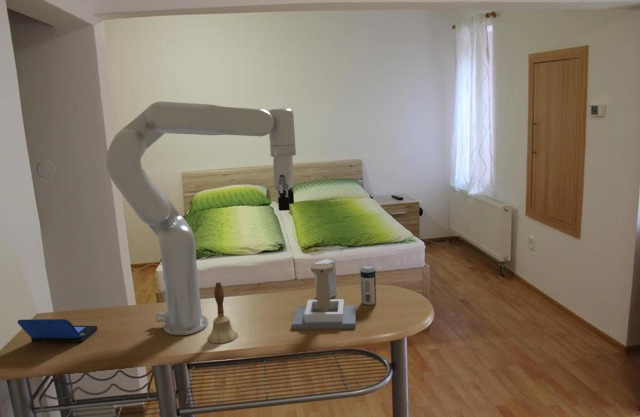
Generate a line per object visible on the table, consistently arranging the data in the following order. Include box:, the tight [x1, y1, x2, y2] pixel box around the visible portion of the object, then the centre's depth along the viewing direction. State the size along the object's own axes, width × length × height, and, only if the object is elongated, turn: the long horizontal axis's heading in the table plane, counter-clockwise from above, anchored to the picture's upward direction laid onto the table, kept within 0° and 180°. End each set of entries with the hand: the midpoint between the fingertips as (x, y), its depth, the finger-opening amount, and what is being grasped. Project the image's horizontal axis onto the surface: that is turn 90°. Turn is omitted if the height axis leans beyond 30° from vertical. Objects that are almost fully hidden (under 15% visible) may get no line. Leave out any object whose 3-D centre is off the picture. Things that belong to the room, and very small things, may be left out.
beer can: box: [359, 264, 377, 306], centre depth 161 cm, size 5×5×12 cm
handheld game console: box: [17, 318, 98, 344], centre depth 146 cm, size 16×13×9 cm
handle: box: [310, 263, 333, 312], centre depth 150 cm, size 5×6×15 cm
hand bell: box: [207, 281, 239, 344], centre depth 142 cm, size 8×8×16 cm
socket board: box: [291, 298, 357, 330], centre depth 151 cm, size 18×13×4 cm
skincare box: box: [313, 258, 338, 299], centre depth 168 cm, size 6×4×12 cm
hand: (286, 206), depth 156 cm, fingers open, 9 cm apart
